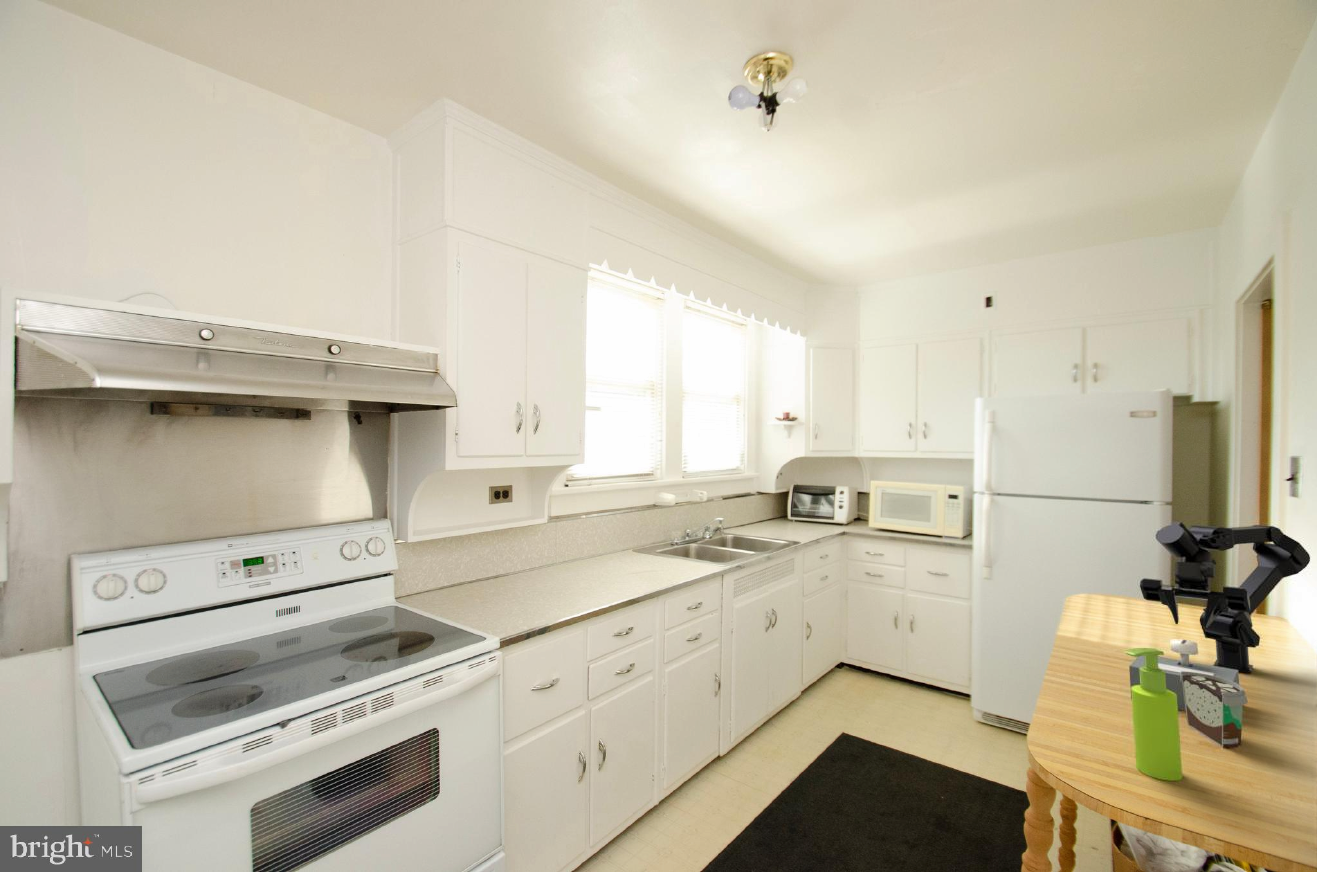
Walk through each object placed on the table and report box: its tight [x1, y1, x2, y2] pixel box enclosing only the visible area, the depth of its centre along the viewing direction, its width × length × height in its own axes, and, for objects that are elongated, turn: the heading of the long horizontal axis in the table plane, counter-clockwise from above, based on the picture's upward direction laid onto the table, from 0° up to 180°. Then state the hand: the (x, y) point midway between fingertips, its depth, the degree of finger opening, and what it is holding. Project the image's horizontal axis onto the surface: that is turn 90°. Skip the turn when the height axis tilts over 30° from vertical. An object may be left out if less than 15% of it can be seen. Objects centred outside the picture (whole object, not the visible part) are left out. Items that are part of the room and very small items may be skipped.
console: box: [1128, 655, 1240, 712], centre depth 126 cm, size 12×16×7 cm
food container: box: [1180, 671, 1249, 749], centre depth 110 cm, size 12×6×10 cm, turn 168°
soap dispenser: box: [1124, 647, 1183, 782], centre depth 99 cm, size 6×7×20 cm
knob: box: [1169, 638, 1199, 667], centre depth 129 cm, size 4×4×6 cm
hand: (1190, 625), depth 135 cm, fingers open, 5 cm apart
